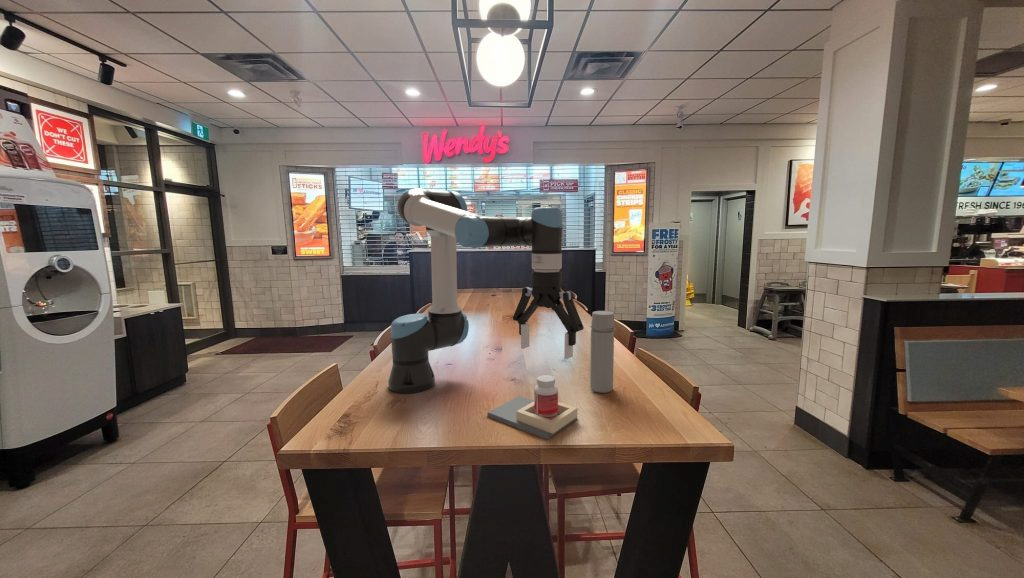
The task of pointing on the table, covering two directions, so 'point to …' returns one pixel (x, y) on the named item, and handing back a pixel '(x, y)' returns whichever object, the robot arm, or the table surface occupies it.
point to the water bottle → (602, 351)
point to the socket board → (533, 417)
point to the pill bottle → (546, 397)
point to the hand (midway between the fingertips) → (546, 352)
